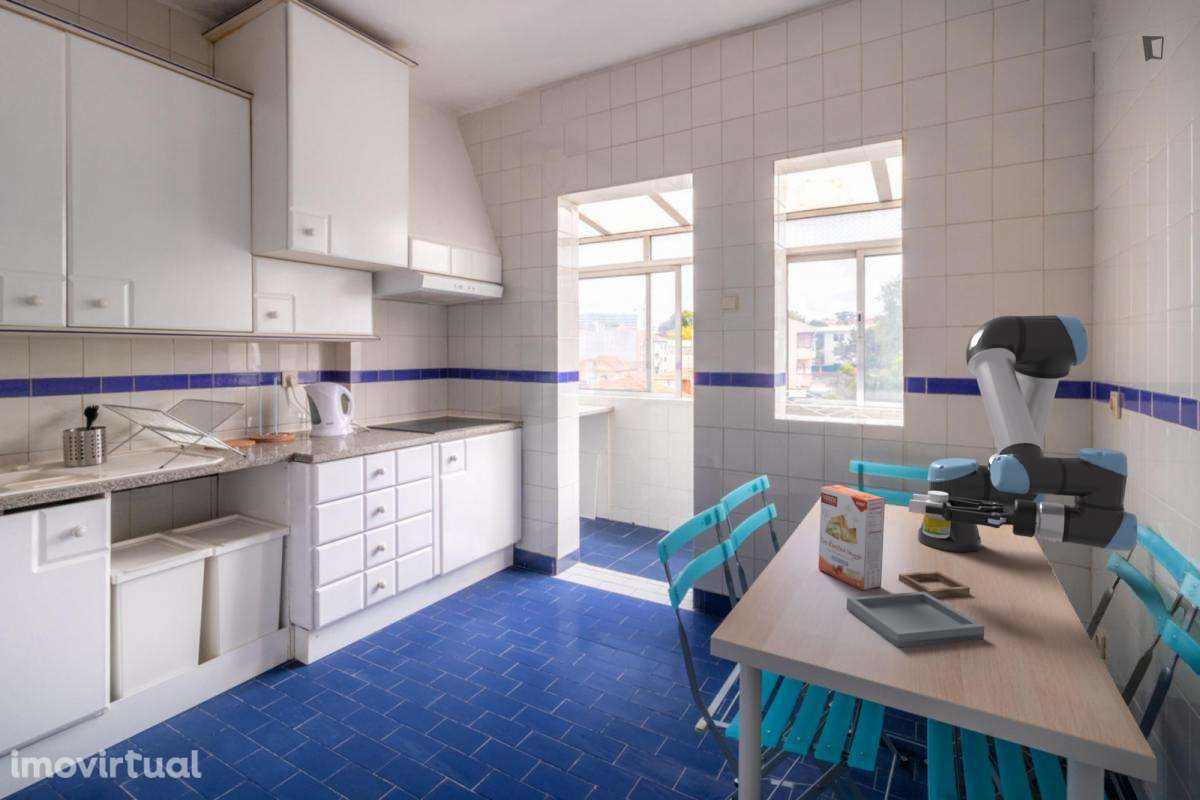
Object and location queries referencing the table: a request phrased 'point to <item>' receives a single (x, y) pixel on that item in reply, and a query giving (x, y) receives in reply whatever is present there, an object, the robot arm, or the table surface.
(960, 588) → the bottle holder
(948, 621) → the tray
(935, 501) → the supplement bottle
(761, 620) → the table surface
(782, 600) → the table surface
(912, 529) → the table surface
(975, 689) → the table surface
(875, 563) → the cracker box
